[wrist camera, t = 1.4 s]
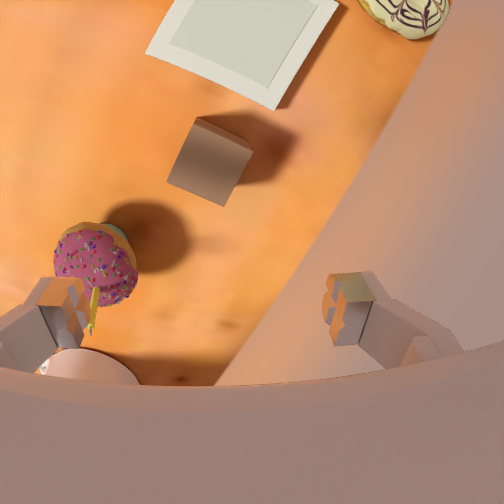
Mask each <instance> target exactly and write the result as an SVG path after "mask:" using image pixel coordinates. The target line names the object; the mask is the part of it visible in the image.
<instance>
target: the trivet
mask: <svg viewBox="0 0 504 504" xmlns="http://www.w3.org/2000/svg"><path fill="white" fill-rule="evenodd" d="M338 5H339V3H337V2H336V1H334V0H175V1H174V3H173V4H172V6H171V8H170V9H169V11H168V13H167V14H166V16H165V18H164V20H163V21H162V23H161V25H160V27H159V28H158V30H157V32H156V34H155V36H154V37H153V39H152V41H151V43H150V45H149V47H148V49H147V51H146V52H145V54H147V55H150V56H153V57H155V58H158V59H161V60H163V61H166V62H168V63H171V64H173V65H176V66H178V67H181V68H183V69H186V70H188V71H190V72H193V73H195V74H197V75H200V76H202V77H204V78H207V79H209V80H211V81H213V82H215V83H218V84H220V85H222V86H224V87H226V88H228V89H231V90H233V91H235V92H237V93H239V94H241V95H243V96H245V97H247V98H249V99H251V100H253V101H255V102H257V103H259V104H261V105H263V106H265V107H267V108H268V109H270V110H272V111H274V110H275V108H276V107H277V105H278V103H279V102H280V100H281V98H282V96H283V95H284V93H285V91H286V90H287V88H288V86H289V84H290V83H291V81H292V79H293V78H294V76H295V74H296V73H297V71H298V69H299V68H300V66H301V64H302V63H303V61H304V59H305V58H306V56H307V54H308V53H309V51H310V50H311V48H312V46H313V45H314V43H315V41H316V40H317V38H318V37H319V35H320V33H321V32H322V30H323V29H324V27H325V25H326V24H327V22H328V21H329V19H330V18H331V16H332V14H333V13H334V11H335V10H336V8H337V7H338Z"/></svg>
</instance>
